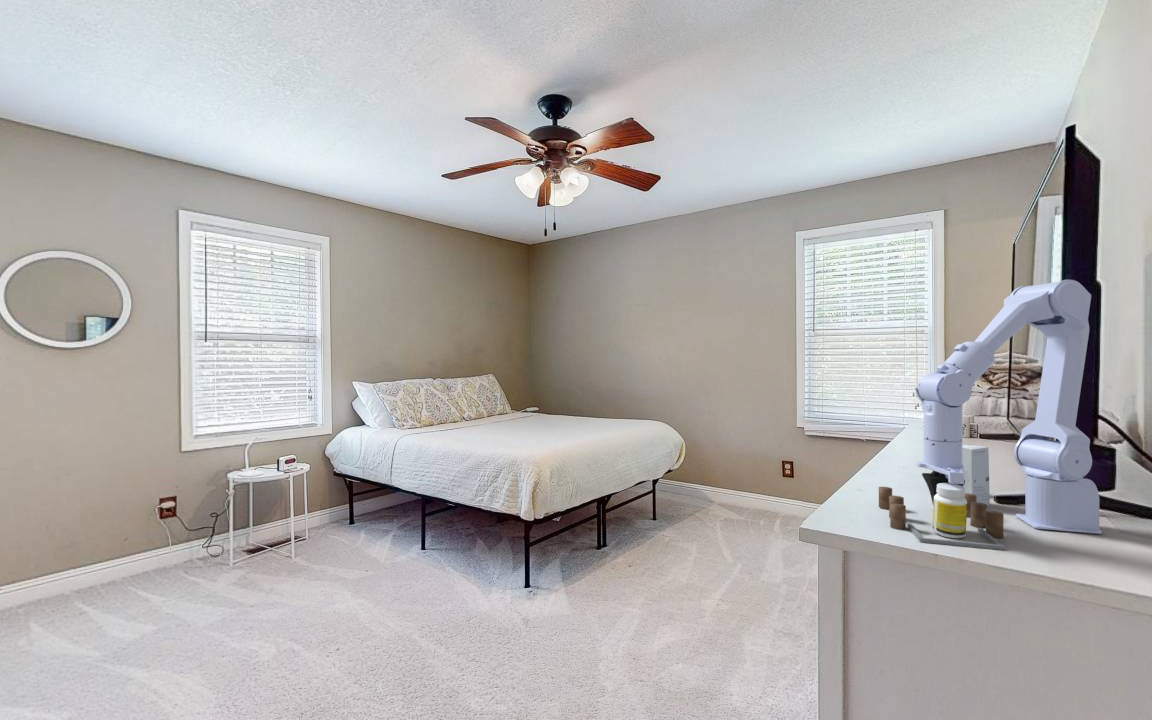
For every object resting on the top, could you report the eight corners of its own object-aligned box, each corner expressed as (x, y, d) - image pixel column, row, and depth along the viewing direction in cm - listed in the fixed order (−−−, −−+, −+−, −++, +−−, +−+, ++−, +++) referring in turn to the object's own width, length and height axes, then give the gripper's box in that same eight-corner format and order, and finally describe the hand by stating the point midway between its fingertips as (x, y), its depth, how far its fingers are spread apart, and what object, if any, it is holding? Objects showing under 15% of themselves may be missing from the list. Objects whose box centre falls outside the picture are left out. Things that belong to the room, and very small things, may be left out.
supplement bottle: (972, 539, 89) (974, 491, 88) (942, 539, 89) (944, 491, 88) (954, 527, 94) (956, 481, 93) (926, 527, 94) (928, 481, 93)
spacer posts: (972, 512, 103) (972, 492, 103) (1006, 538, 89) (1006, 515, 89) (874, 505, 109) (874, 486, 109) (891, 528, 95) (891, 506, 95)
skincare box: (973, 509, 106) (973, 449, 106) (949, 503, 110) (949, 445, 110) (991, 505, 108) (991, 446, 108) (967, 500, 113) (967, 443, 112)
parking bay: (981, 531, 93) (981, 528, 93) (1004, 550, 84) (1004, 546, 84) (905, 524, 97) (905, 521, 97) (920, 541, 88) (920, 538, 88)
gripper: (906, 432, 103) (906, 501, 103) (929, 445, 89) (929, 524, 89) (948, 434, 101) (949, 505, 101) (978, 447, 87) (979, 529, 87)
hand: (942, 514), depth 95 cm, fingers closed
